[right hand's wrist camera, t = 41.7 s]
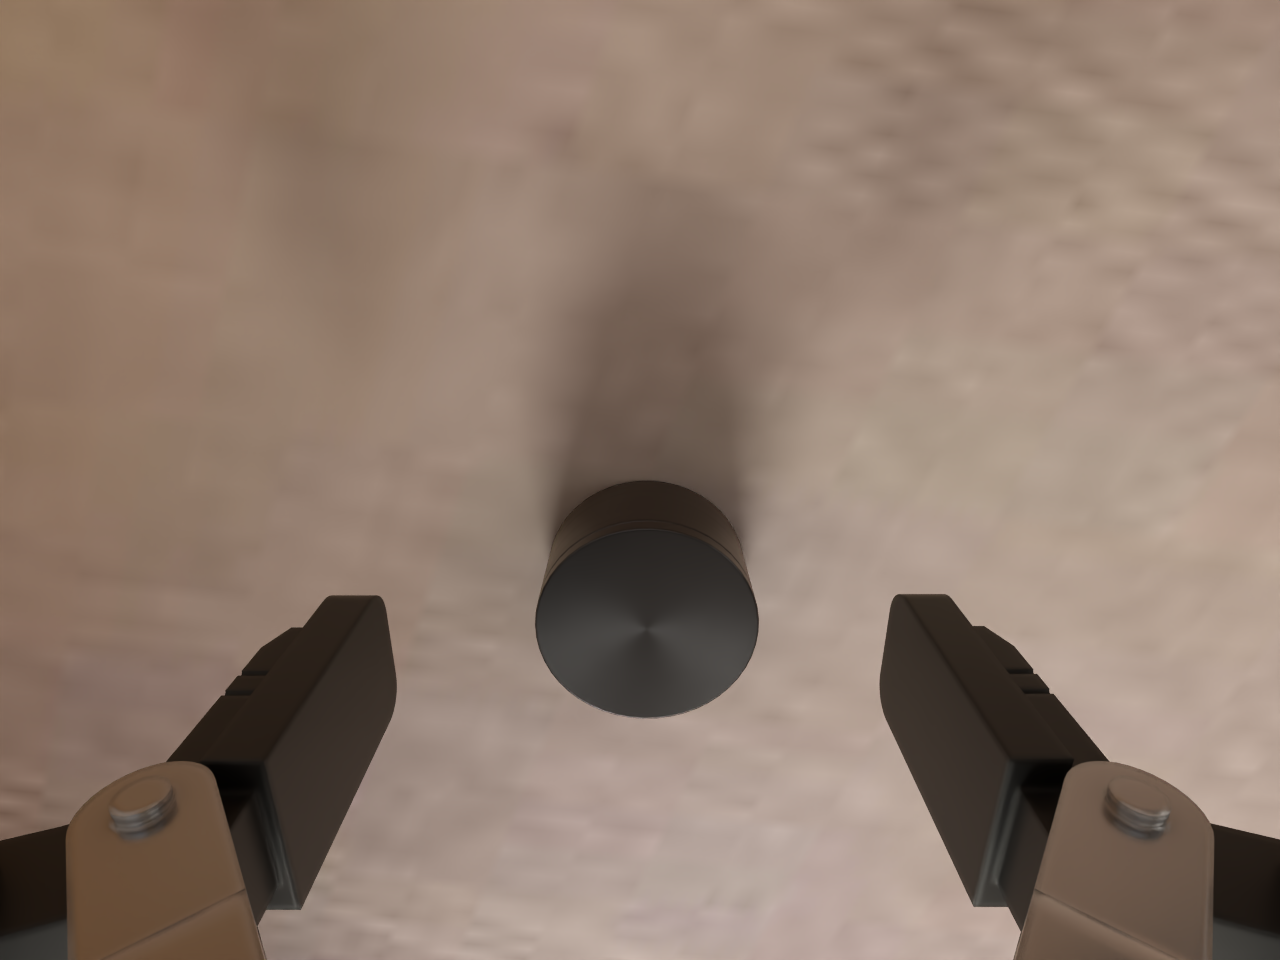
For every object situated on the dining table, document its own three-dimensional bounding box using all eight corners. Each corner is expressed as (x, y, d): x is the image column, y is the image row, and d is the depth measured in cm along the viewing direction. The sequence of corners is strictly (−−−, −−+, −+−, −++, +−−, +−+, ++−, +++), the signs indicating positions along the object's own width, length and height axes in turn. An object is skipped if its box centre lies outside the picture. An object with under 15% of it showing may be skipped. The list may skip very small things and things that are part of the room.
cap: (578, 455, 13) (567, 501, 11) (771, 510, 13) (792, 564, 12) (529, 624, 14) (511, 690, 12) (706, 669, 15) (715, 740, 13)
